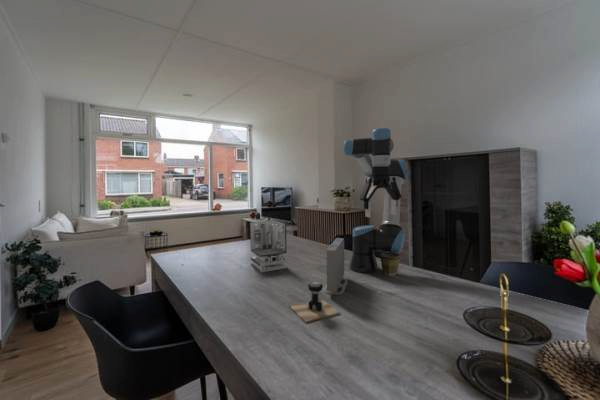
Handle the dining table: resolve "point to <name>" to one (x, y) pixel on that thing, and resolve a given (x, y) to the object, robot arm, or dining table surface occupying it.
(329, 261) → the network device
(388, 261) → the ceramic cup
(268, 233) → the analytical balance
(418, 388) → the dining table surface
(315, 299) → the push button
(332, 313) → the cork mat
